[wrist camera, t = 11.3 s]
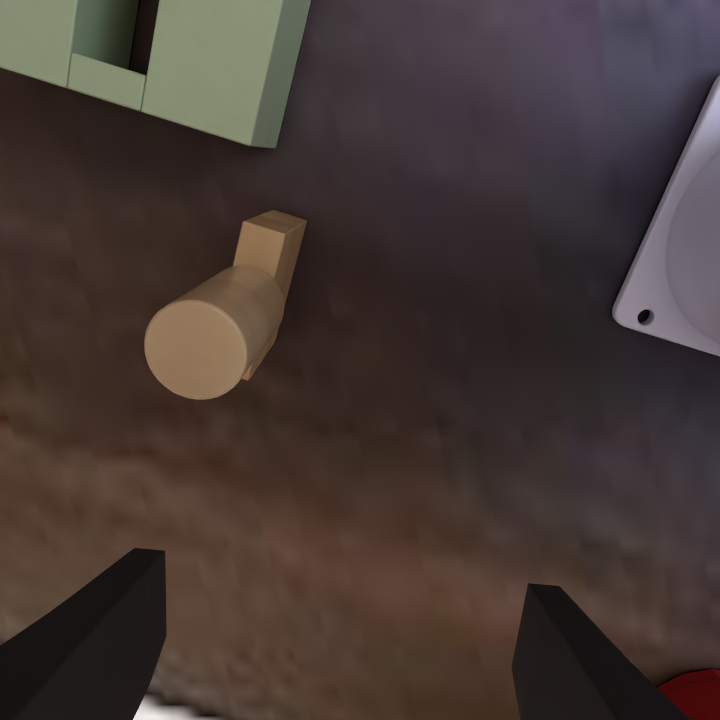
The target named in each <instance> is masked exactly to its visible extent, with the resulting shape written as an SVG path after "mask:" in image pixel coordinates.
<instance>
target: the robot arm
mask: <svg viewBox="0 0 720 720" xmlns="http://www.w3.org/2000/svg"><path fill="white" fill-rule="evenodd" d="M645 309H647V310H649V312H650V314H649V317H648V319H647V320H646V321H643V322H638V319H637V318H638V314H639V313H640V312H641V311H643V310H645ZM612 315H613V318H614V319H615V321H616V322H617V323H619V324H620V325H622V326H624V327H627V328H630V329H633V330H637V331H640V332H643V333H646V334H649V335H653V336H656V337H659V338H662V339H666V340H669V341H672V342H675V343H678V344H682V345H685V346H688V347H691V348H694V349H698V350H701V351H704V352H707V353H710V354H714V355H717V356H720V75H719V76H718V77H717V79H716V80H715V82H714V83H713V86H712V88H711V90H710V92H709V94H708V97H707V99H706V101H705V103H704V105H703V108H702V110H701V112H700V114H699V117H698V119H697V121H696V123H695V125H694V128H693V130H692V132H691V134H690V137H689V139H688V141H687V143H686V145H685V148H684V150H683V152H682V154H681V157H680V159H679V161H678V163H677V165H676V168H675V170H674V172H673V174H672V177H671V179H670V181H669V183H668V185H667V188H666V190H665V192H664V194H663V197H662V199H661V201H660V203H659V205H658V208H657V210H656V212H655V214H654V217H653V219H652V221H651V223H650V225H649V228H648V230H647V232H646V234H645V236H644V239H643V241H642V243H641V245H640V248H639V250H638V252H637V254H636V256H635V259H634V261H633V263H632V265H631V268H630V270H629V272H628V274H627V276H626V279H625V281H624V283H623V285H622V288H621V290H620V292H619V294H618V296H617V299H616V301H615V303H614V305H613V309H612ZM165 638H166V577H165V551H162V550H151V549H140V548H134V549H133V550H131V551H130V552H129V553H127V554H126V555H125V556H123V557H122V558H121V559H119V560H118V561H117V562H115V563H114V564H113V565H112V566H110V567H109V568H108V569H106V570H105V571H104V572H102V573H101V574H100V575H99V576H97V577H96V578H95V579H93V580H92V581H91V582H89V583H88V584H87V585H86V586H84V587H83V588H82V589H80V590H79V591H78V592H76V593H75V594H74V595H72V596H71V597H70V598H68V599H67V600H66V601H64V602H63V603H61V604H60V605H59V606H57V607H56V608H55V609H53V610H52V611H51V612H49V613H48V614H46V615H45V616H43V617H42V618H40V619H39V620H38V621H36V622H35V623H33V624H32V625H30V626H29V627H27V628H26V629H24V630H23V631H21V632H20V633H18V634H17V635H16V636H14V637H13V638H11V639H10V640H8V641H7V642H5V643H4V644H2V645H1V646H0V720H133V718H134V716H135V714H136V712H137V710H138V708H139V706H140V704H141V702H142V700H143V697H144V695H145V693H146V691H147V689H148V687H149V684H150V681H151V679H152V676H153V673H154V670H155V667H156V665H157V662H158V659H159V656H160V653H161V650H162V647H163V644H164V641H165ZM512 672H513V678H514V684H515V691H516V697H517V702H518V708H519V714H520V719H521V720H691V719H690V718H689V717H688V716H687V715H686V714H685V713H683V712H682V711H681V710H680V709H679V708H678V707H677V706H676V705H675V704H674V703H673V702H672V701H671V700H670V699H668V698H667V697H666V696H665V695H664V694H663V693H662V692H661V691H660V690H659V689H658V688H657V687H656V686H654V685H653V684H652V683H651V682H650V681H649V680H648V679H647V678H646V677H645V676H644V675H643V674H642V673H641V672H640V671H639V670H638V669H637V668H636V667H635V666H634V665H633V664H632V663H631V662H630V661H629V660H628V659H627V658H626V657H625V656H624V655H623V654H622V653H621V651H620V650H619V649H618V648H617V647H616V646H615V645H614V644H613V643H612V642H611V641H610V640H609V639H608V638H607V637H606V636H605V635H604V634H603V633H602V631H601V630H600V629H599V628H598V627H597V626H596V625H595V624H594V623H593V622H592V621H591V620H590V619H589V617H588V616H587V615H586V614H585V613H584V612H583V611H582V610H581V609H580V608H579V607H578V605H577V604H576V603H575V602H574V601H573V600H572V599H571V598H570V597H569V596H568V595H567V594H566V593H565V592H564V591H563V590H562V589H561V588H560V587H559V586H552V585H541V584H530V583H528V587H527V592H526V597H525V602H524V607H523V612H522V617H521V622H520V627H519V632H518V637H517V642H516V647H515V652H514V657H513V662H512Z"/></svg>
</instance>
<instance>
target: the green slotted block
mask: <svg viewBox="0 0 720 720" xmlns="http://www.w3.org/2000/svg"><path fill="white" fill-rule="evenodd" d="M310 3H311V0H159V6H158V12H157V18H156V24H155V30H154V36H153V42H152V48H151V54H150V60H149V66H148V72H147V76H146V75H143V74H140V73H136V72H133V71H130V70H128V68H129V61H130V55H131V48H132V42H133V36H134V29H135V23H136V16H137V10H138V4H139V0H0V68H3V69H7V70H10V71H13V72H16V73H19V74H22V75H26V76H29V77H32V78H35V79H38V80H42V81H45V82H48V83H51V84H54V85H57V86H61V87H64V88H68V89H70V90H73V91H76V92H80V93H83V94H86V95H89V96H92V97H95V98H99V99H102V100H105V101H108V102H111V103H114V104H118V105H121V106H124V107H127V108H130V109H133V110H137V111H141V112H143V113H146V114H149V115H152V116H156V117H159V118H162V119H165V120H168V121H171V122H175V123H178V124H181V125H184V126H187V127H190V128H194V129H197V130H200V131H203V132H206V133H209V134H213V135H216V136H219V137H222V138H225V139H228V140H232V141H235V142H238V143H241V144H244V145H247V146H254V147H263V148H273V149H275V148H276V145H277V141H278V137H279V133H280V129H281V125H282V120H283V116H284V112H285V108H286V104H287V99H288V95H289V91H290V87H291V83H292V79H293V74H294V70H295V66H296V62H297V58H298V53H299V49H300V45H301V41H302V37H303V33H304V28H305V24H306V20H307V16H308V12H309V7H310Z"/></svg>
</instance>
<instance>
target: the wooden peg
mask: <svg viewBox="0 0 720 720" xmlns="http://www.w3.org/2000/svg"><path fill="white" fill-rule="evenodd" d="M306 223H307V221H306V220H304V219H301V218H298V217H295V216H292V215H288V214H285V213H282V212H279V211H276V210H271V211H269V212H266V213H263V214H261V215H258V216H256V217H253V218H250V219H248V220H245V221H243V223H242V227H241V231H240V236H239V240H238V244H237V249H236V253H235V258H234V262H233V266H232V267H230V268H227V269H225V270H223V271H221V272H220V273H218V274H216V275H215V276H213V277H212V278H210V279H208V280H207V281H205V282H204V283H202V284H200V285H199V286H197V287H195V288H194V289H192V290H191V291H189V292H187V293H186V294H184V295H182V296H181V297H179V298H178V299H176V300H174V301H173V302H171V303H169V304H168V305H166V306H165V307H163V308H162V309H160V310H159V311H158V312H157V313H156V314H155V315H154V317H153V318H152V319H151V321H150V323H149V325H148V327H147V330H146V334H145V340H144V349H145V356H146V359H147V362H148V365H149V367H150V369H151V371H152V372H153V374H154V375H155V377H156V378H157V379H158V380H159V381H160V382H161V383H162V384H163V385H164V386H165V387H166V388H168V389H169V390H171V391H172V392H174V393H176V394H178V395H180V396H183V397H186V398H191V399H211V398H215V397H219V396H221V395H223V394H225V393H227V392H228V391H230V390H231V389H232V388H234V387H235V385H236V384H237V383H238V382H239V381H240V379H244V380H249V379H250V377H251V376H252V374H253V373H254V372H255V370H256V369H257V367H258V366H259V364H260V363H261V361H262V360H263V358H264V357H265V356H266V354H267V353H268V351H269V350H270V348H271V347H272V345H273V344H274V342H275V340H276V337H277V333H278V329H279V325H280V323H281V322H282V319H283V315H284V306H285V303H286V299H287V295H288V291H289V288H290V284H291V280H292V276H293V272H294V269H295V265H296V261H297V257H298V254H299V250H300V246H301V242H302V238H303V235H304V231H305V227H306Z"/></svg>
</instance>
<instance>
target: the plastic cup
mask: <svg viewBox="0 0 720 720" xmlns="http://www.w3.org/2000/svg"><path fill="white" fill-rule="evenodd" d="M658 689H659V690H660V691H661V692H662V693H663V694H664V695H665V696H666V697H667V698H668V699H670V700H671V701H672V702H673V703H674V704H675V705H676V706H677V707H678V708H679V709H680V710H681V711H682V712H683V713H685V714H686V715H687V716H688V717H689V718H690V719H691V720H720V670H716V669H709V670H703V671H697V672H691V673H685V674H682V675H680V676H678V677H676V678H674V679H672V680H670V681H668V682H666V683H664V684H662V685H660V686H659V687H658Z"/></svg>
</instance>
